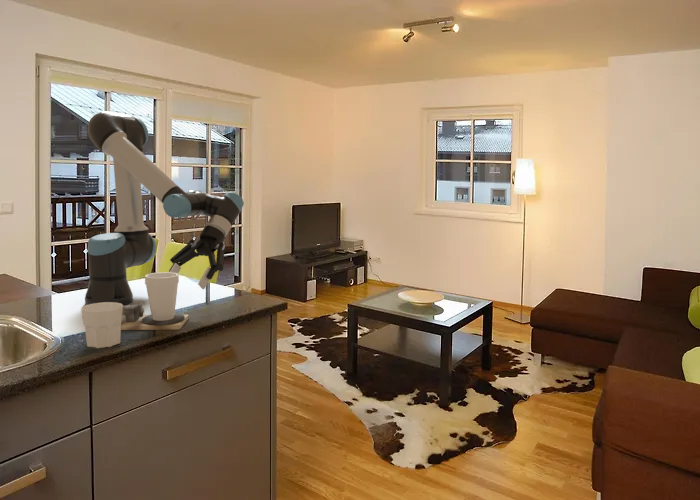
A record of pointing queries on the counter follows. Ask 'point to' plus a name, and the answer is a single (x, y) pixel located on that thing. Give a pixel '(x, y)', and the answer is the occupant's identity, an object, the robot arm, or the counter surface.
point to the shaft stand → (148, 320)
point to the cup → (102, 323)
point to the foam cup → (162, 294)
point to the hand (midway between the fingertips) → (184, 284)
